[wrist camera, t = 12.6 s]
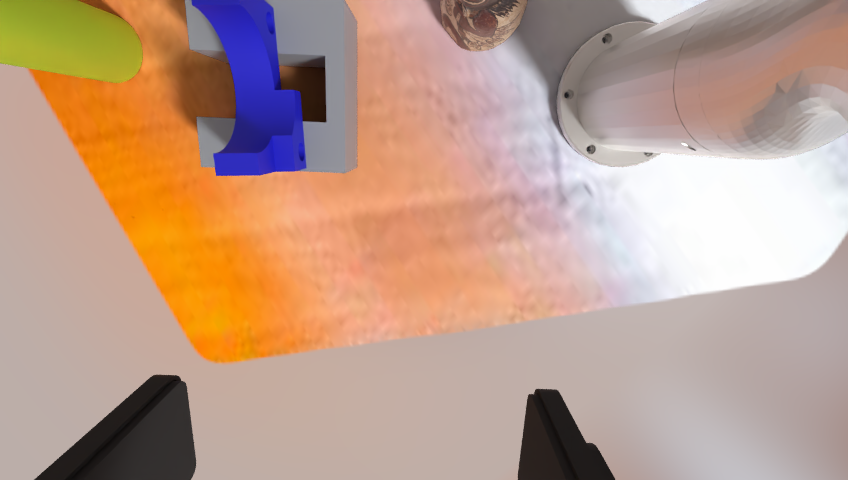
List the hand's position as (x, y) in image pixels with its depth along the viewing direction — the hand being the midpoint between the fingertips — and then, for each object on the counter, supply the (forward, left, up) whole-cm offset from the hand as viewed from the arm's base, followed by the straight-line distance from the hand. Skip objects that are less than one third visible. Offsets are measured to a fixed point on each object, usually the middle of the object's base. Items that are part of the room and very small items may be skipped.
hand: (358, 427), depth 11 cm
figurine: (-6, -19, -31) cm, 36 cm away
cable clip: (+11, -11, -24) cm, 29 cm away
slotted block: (+11, -11, -30) cm, 34 cm away
